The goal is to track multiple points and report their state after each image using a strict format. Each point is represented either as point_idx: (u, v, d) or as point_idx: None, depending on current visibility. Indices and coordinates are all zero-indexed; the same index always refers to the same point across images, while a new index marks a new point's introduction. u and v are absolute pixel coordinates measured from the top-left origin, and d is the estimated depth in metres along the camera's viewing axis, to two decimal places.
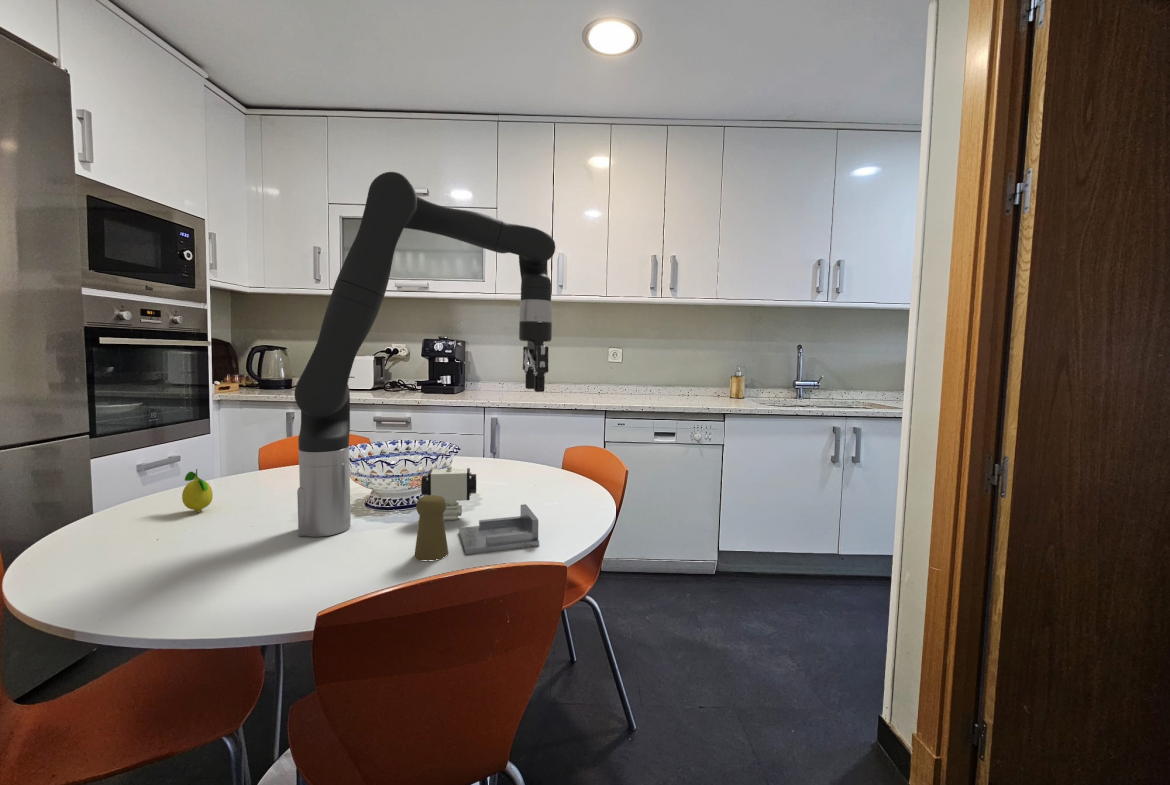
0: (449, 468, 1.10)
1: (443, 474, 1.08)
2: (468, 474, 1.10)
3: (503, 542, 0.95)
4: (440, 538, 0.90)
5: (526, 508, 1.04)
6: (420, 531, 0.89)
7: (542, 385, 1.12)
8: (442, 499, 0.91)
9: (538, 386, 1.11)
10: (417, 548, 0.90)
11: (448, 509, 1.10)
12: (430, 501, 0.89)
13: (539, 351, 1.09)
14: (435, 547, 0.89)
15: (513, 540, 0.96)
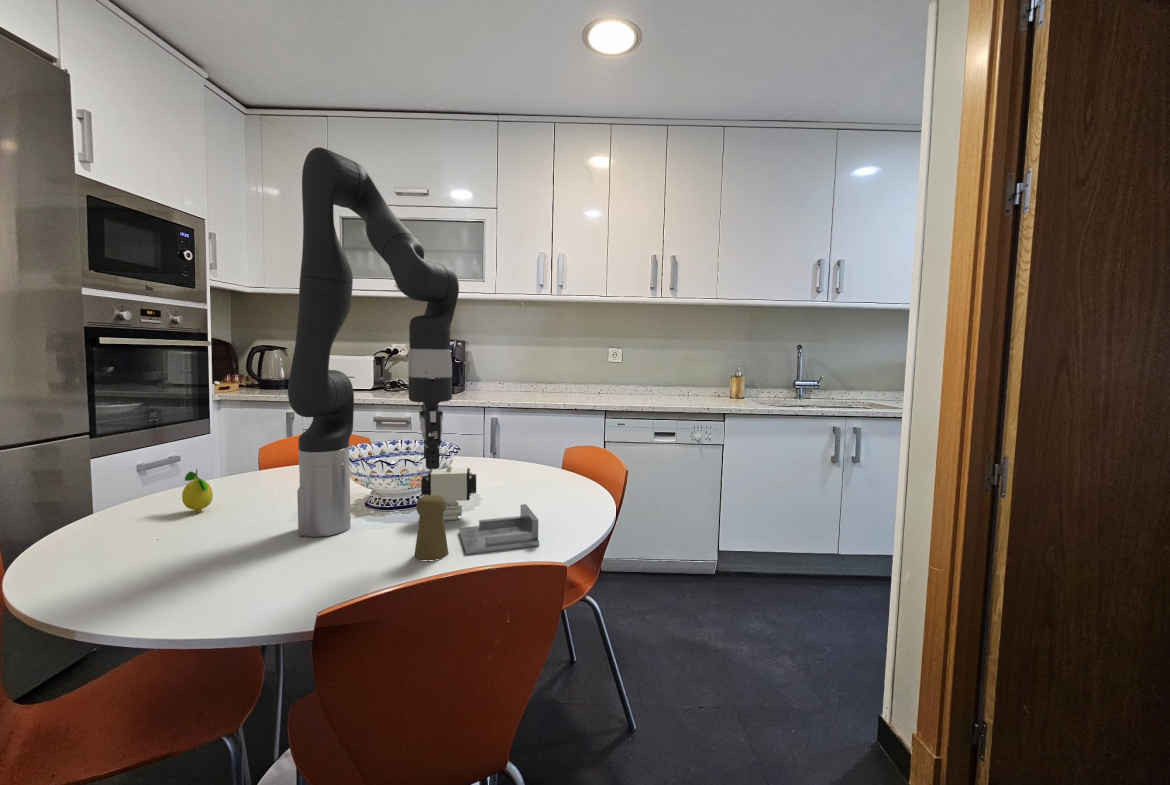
0: (449, 468, 1.10)
1: (443, 474, 1.08)
2: (468, 474, 1.10)
3: (503, 542, 0.95)
4: (440, 538, 0.90)
5: (526, 508, 1.04)
6: (420, 531, 0.89)
7: (435, 461, 0.86)
8: (442, 499, 0.91)
9: (430, 462, 0.85)
10: (417, 548, 0.90)
11: (448, 509, 1.10)
12: (430, 501, 0.89)
13: (427, 418, 0.83)
14: (435, 547, 0.89)
15: (513, 540, 0.96)
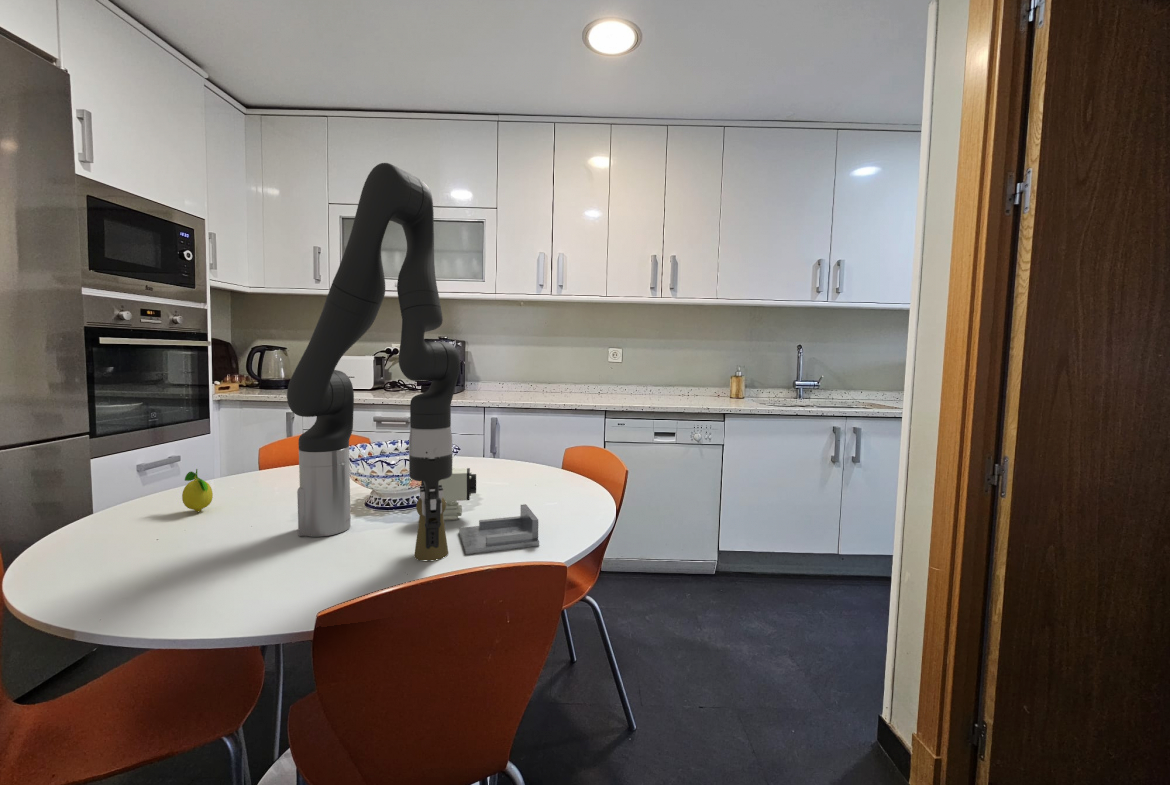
0: None
1: None
2: (468, 474, 1.09)
3: (503, 542, 0.95)
4: (440, 538, 0.90)
5: (526, 508, 1.04)
6: (420, 530, 0.89)
7: (435, 541, 0.88)
8: (442, 499, 0.91)
9: (429, 543, 0.88)
10: (417, 548, 0.90)
11: (448, 509, 1.10)
12: None
13: (428, 508, 0.85)
14: None
15: (513, 540, 0.96)
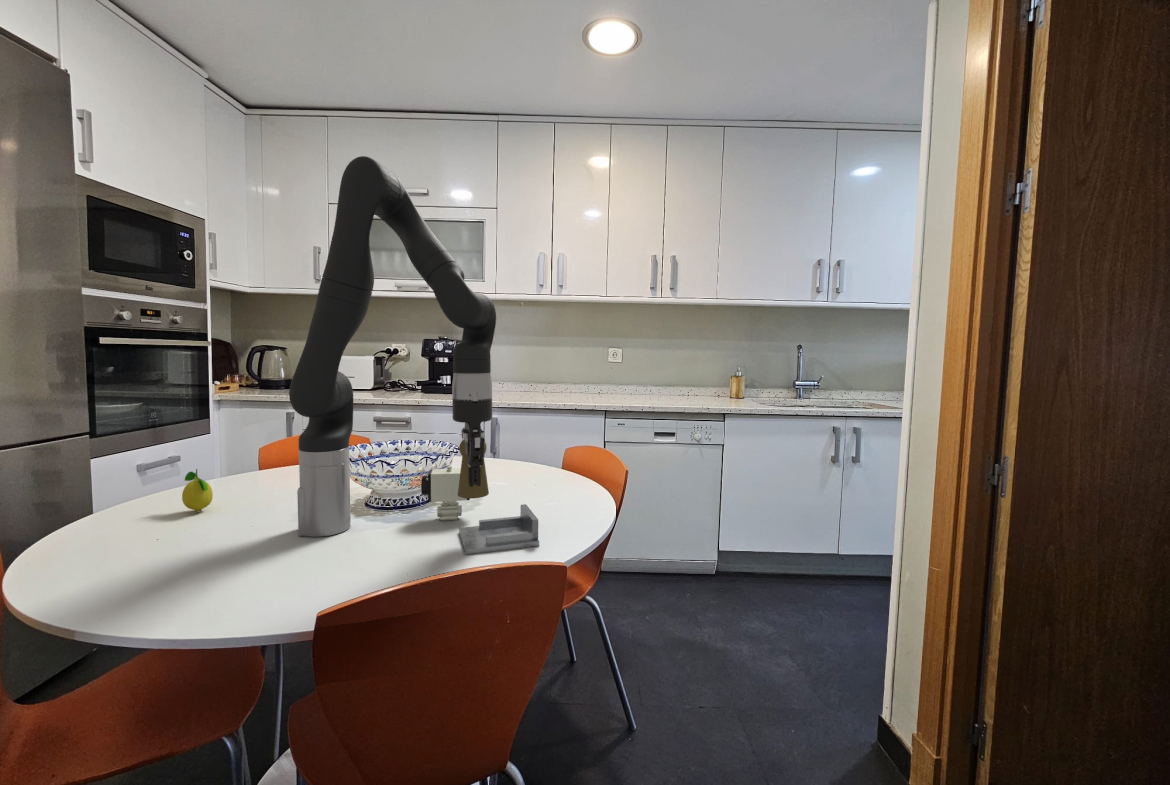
0: (449, 468, 1.10)
1: (443, 474, 1.08)
2: None
3: (503, 542, 0.95)
4: (482, 477, 0.96)
5: (526, 508, 1.04)
6: (463, 470, 0.95)
7: (477, 479, 0.94)
8: None
9: (472, 481, 0.94)
10: (460, 487, 0.96)
11: (448, 509, 1.10)
12: None
13: (472, 445, 0.90)
14: None
15: (513, 540, 0.96)
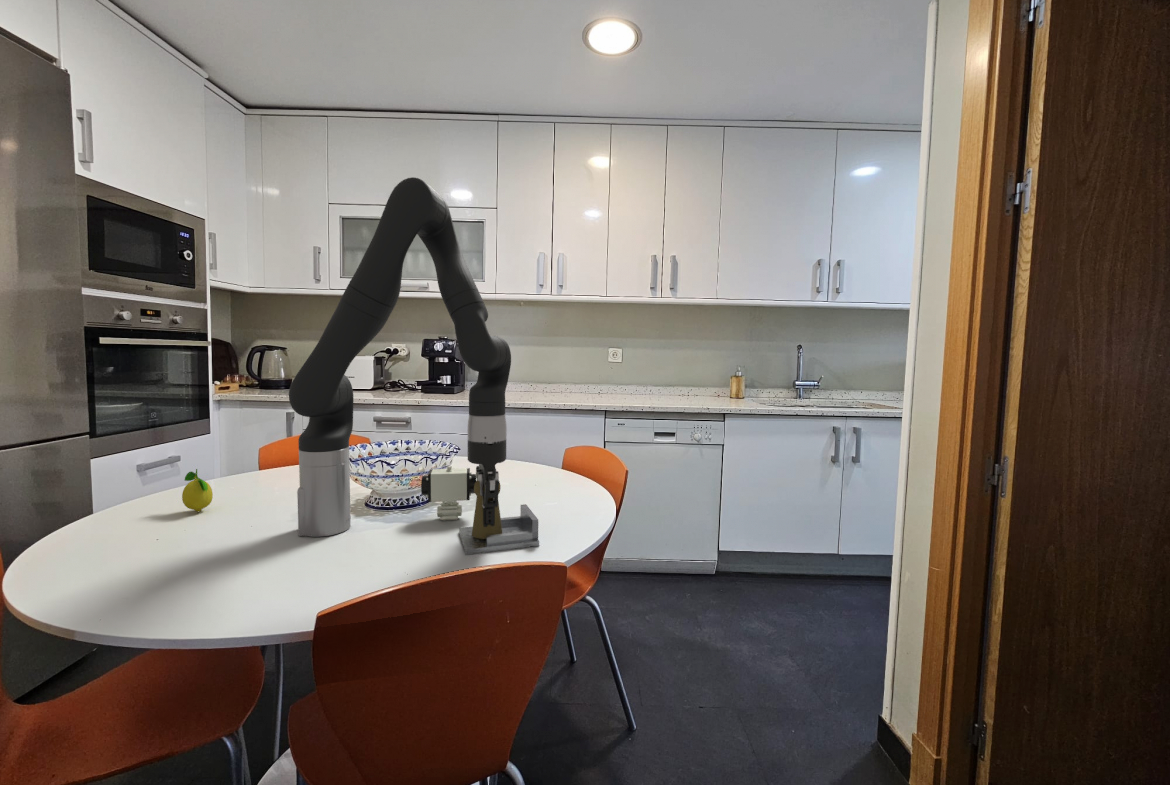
0: (449, 468, 1.10)
1: (443, 474, 1.08)
2: (468, 474, 1.10)
3: (503, 542, 0.95)
4: (496, 517, 0.97)
5: (526, 508, 1.04)
6: (478, 510, 0.97)
7: (491, 520, 0.96)
8: None
9: (487, 521, 0.95)
10: (475, 527, 0.97)
11: (448, 509, 1.10)
12: None
13: (487, 488, 0.92)
14: None
15: (513, 540, 0.96)
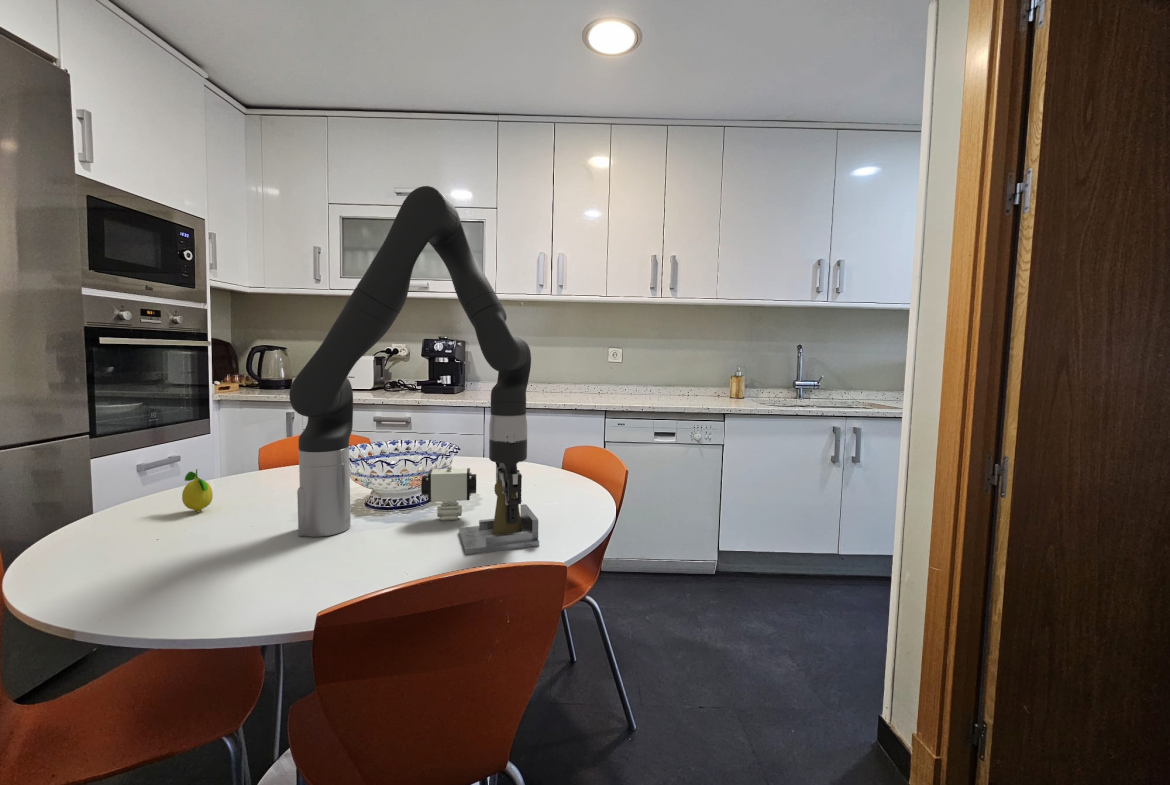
0: (449, 468, 1.10)
1: (443, 474, 1.08)
2: (468, 474, 1.10)
3: (503, 542, 0.95)
4: None
5: (526, 508, 1.04)
6: (499, 510, 0.98)
7: (515, 517, 0.96)
8: None
9: (510, 518, 0.96)
10: (495, 527, 0.99)
11: (448, 509, 1.10)
12: None
13: (510, 482, 0.93)
14: (512, 526, 0.98)
15: (513, 540, 0.96)
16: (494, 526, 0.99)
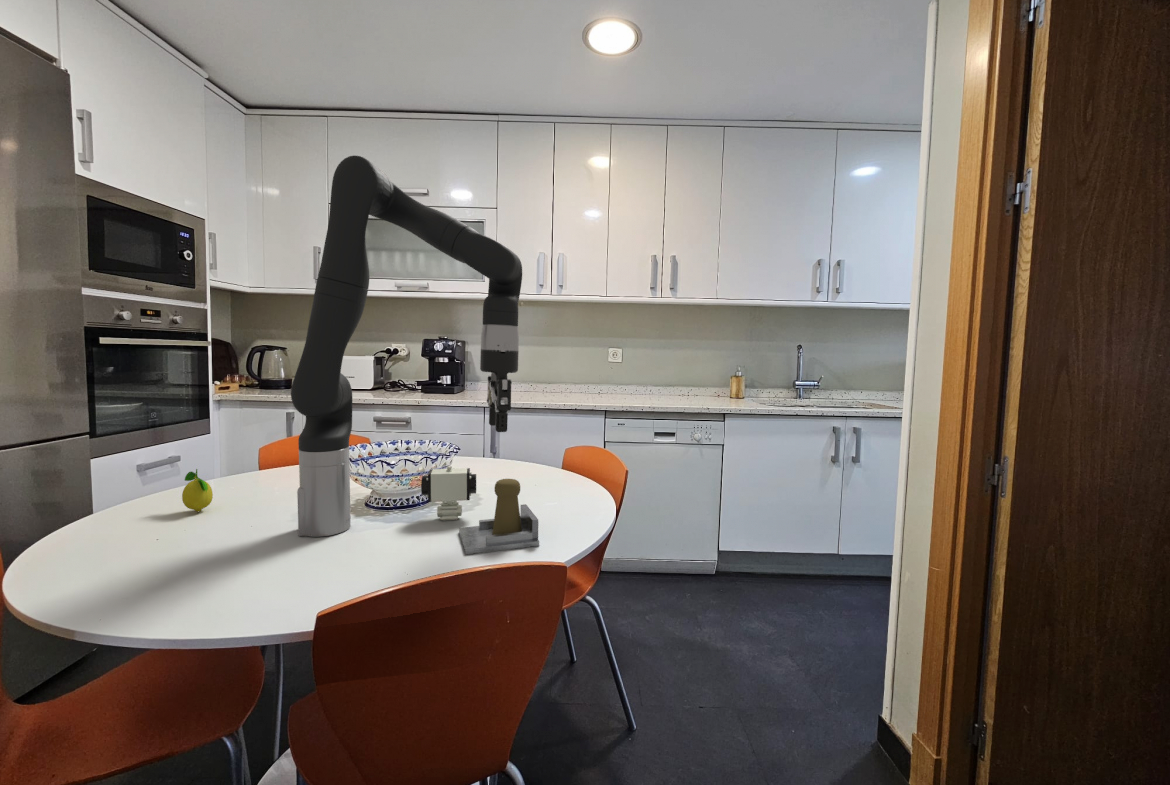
0: (449, 468, 1.10)
1: (443, 474, 1.08)
2: (468, 474, 1.10)
3: (503, 542, 0.95)
4: (516, 517, 0.99)
5: (526, 508, 1.04)
6: (499, 510, 0.98)
7: (504, 424, 0.96)
8: (517, 482, 1.00)
9: (499, 426, 0.96)
10: (495, 527, 0.99)
11: (448, 509, 1.10)
12: (508, 484, 0.98)
13: (500, 386, 0.93)
14: (512, 526, 0.98)
15: (513, 540, 0.96)
16: (494, 526, 0.99)
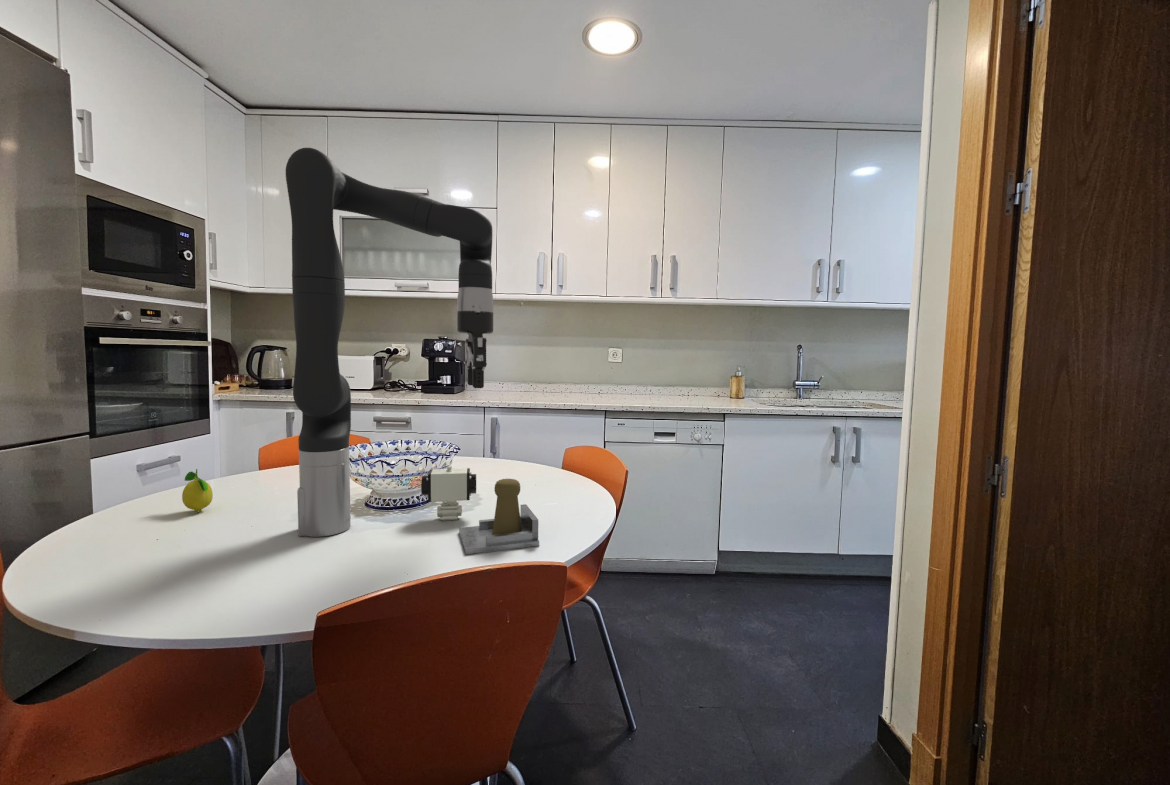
0: (449, 468, 1.10)
1: (443, 474, 1.08)
2: (468, 474, 1.10)
3: (503, 542, 0.95)
4: (516, 517, 0.99)
5: (526, 508, 1.04)
6: (499, 510, 0.98)
7: (481, 381, 1.02)
8: (517, 482, 1.00)
9: (476, 382, 1.02)
10: (495, 527, 0.99)
11: (448, 509, 1.10)
12: (508, 484, 0.98)
13: (475, 343, 0.99)
14: (512, 526, 0.98)
15: (513, 540, 0.96)
16: (494, 526, 0.99)
